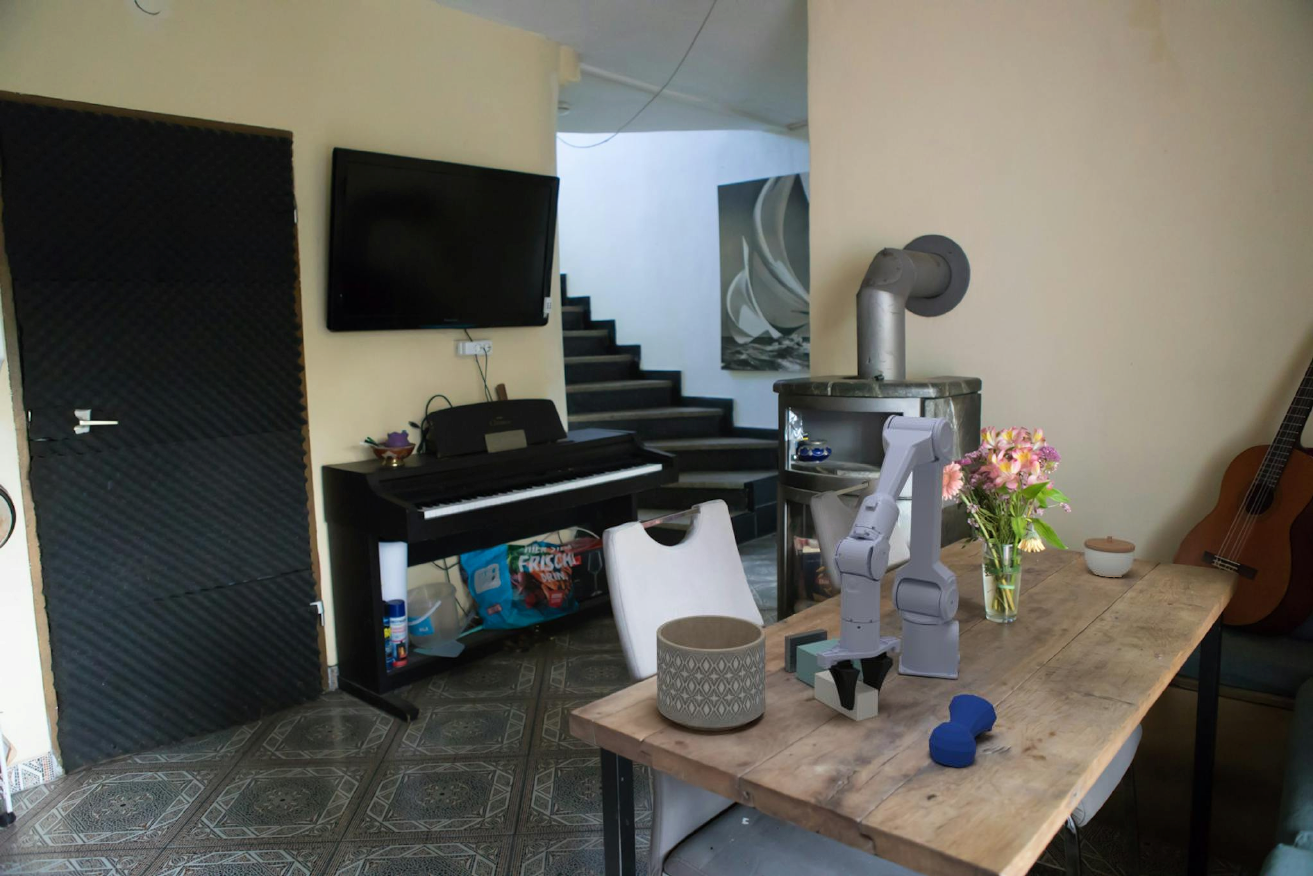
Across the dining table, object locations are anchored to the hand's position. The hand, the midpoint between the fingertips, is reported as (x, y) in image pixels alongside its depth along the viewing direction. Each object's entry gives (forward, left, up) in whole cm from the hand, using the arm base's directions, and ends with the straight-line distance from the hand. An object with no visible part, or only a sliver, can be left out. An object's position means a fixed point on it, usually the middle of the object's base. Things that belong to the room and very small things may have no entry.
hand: (858, 704), depth 134 cm
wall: (+10, -17, -1) cm, 20 cm away
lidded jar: (-51, -96, -2) cm, 109 cm away
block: (+6, -13, -1) cm, 14 cm away
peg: (+2, -2, -1) cm, 3 cm away
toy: (-14, +7, -2) cm, 16 cm away
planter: (+22, +5, -2) cm, 22 cm away
